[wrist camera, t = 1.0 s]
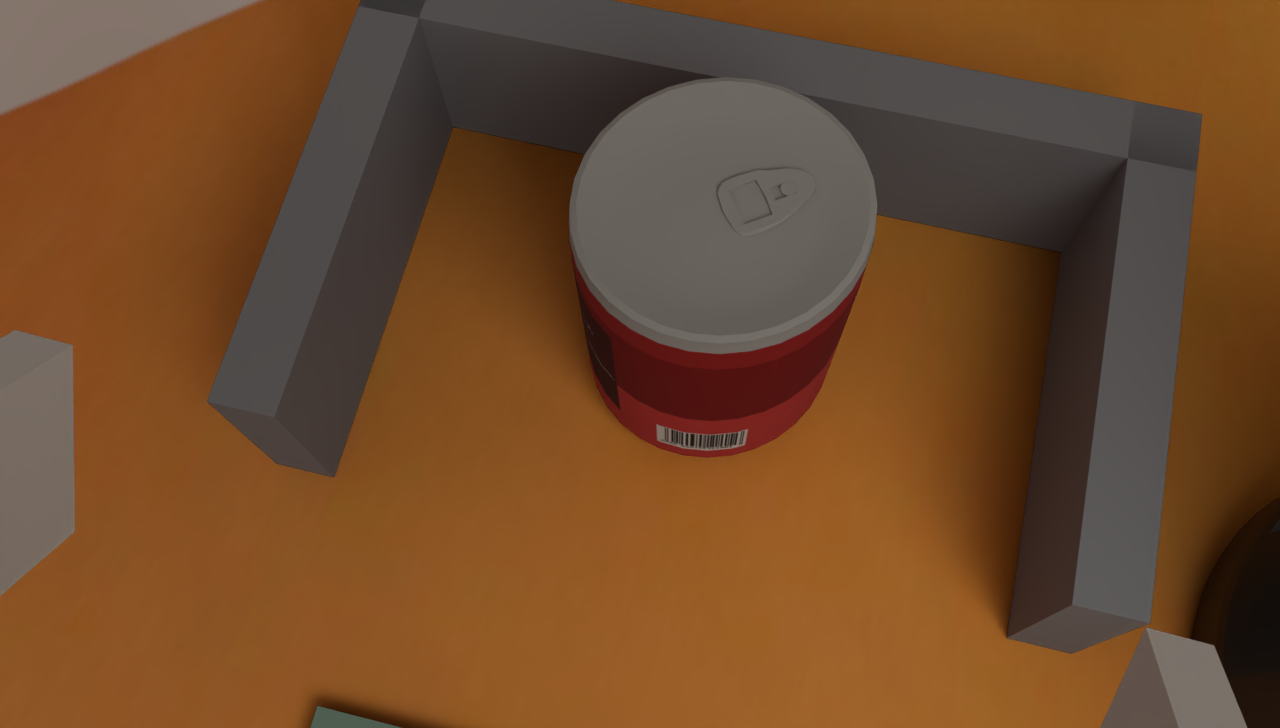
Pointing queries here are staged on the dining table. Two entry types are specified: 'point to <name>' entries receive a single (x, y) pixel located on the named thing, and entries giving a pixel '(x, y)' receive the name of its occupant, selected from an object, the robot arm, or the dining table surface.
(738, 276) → the canned food
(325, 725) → the green mat
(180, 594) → the dining table surface
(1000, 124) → the open box
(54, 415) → the robot arm
